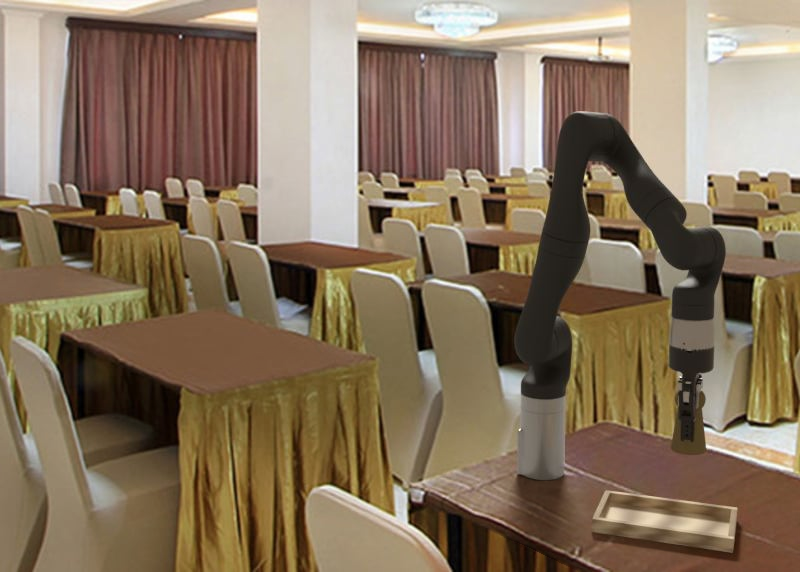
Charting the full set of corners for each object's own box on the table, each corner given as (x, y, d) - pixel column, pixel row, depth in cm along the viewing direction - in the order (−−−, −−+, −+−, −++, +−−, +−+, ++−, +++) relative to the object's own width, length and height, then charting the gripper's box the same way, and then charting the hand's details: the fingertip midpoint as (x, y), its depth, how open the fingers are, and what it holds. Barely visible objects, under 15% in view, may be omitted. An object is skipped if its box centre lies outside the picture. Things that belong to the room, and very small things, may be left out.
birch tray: (591, 531, 172) (592, 518, 171) (605, 502, 184) (605, 490, 184) (733, 552, 163) (733, 539, 162) (736, 520, 176) (737, 507, 175)
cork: (665, 444, 172) (667, 385, 170) (698, 442, 172) (700, 383, 170) (677, 455, 166) (679, 394, 164) (711, 454, 166) (714, 393, 164)
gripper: (674, 332, 173) (671, 423, 176) (664, 350, 160) (661, 448, 163) (717, 335, 171) (714, 427, 173) (710, 353, 158) (707, 453, 161)
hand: (688, 436), depth 168 cm, fingers closed on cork, 4 cm apart
